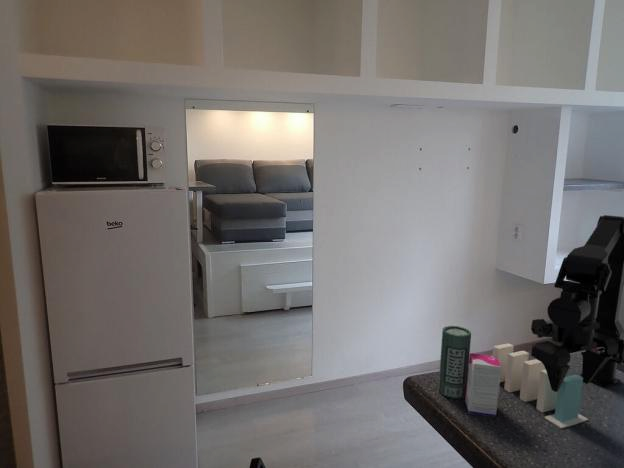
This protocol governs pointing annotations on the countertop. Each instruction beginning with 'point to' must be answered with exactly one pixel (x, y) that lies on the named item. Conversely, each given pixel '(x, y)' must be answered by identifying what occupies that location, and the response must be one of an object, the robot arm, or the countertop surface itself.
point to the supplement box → (483, 384)
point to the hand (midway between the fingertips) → (570, 386)
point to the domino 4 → (545, 394)
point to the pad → (565, 423)
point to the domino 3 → (530, 379)
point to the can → (454, 361)
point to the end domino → (568, 398)
